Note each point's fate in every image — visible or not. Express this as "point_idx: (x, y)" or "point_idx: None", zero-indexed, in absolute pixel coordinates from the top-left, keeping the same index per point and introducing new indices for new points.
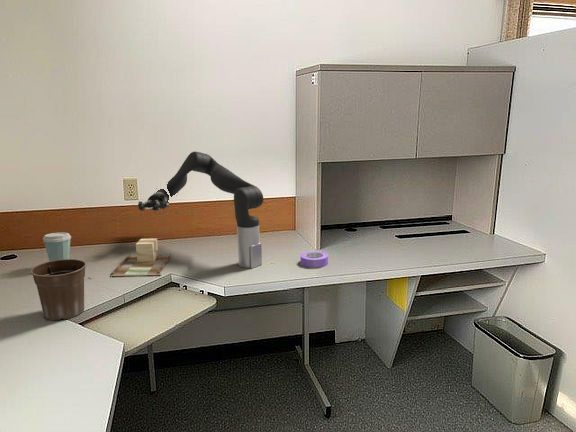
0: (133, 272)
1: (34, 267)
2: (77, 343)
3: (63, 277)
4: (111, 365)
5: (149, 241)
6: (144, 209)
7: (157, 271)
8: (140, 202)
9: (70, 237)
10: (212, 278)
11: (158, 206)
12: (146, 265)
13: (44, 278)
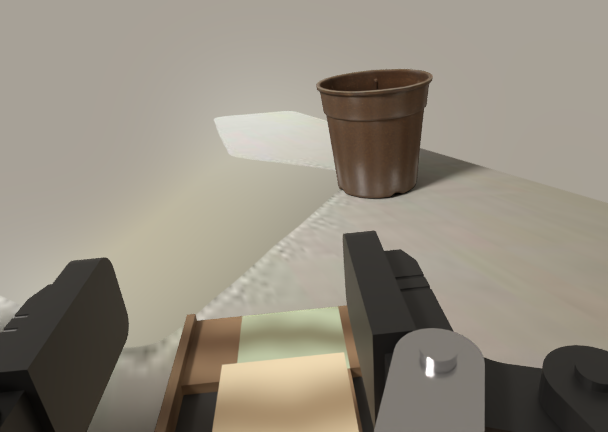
0: (306, 322)
1: (427, 73)
2: (292, 151)
3: (339, 83)
4: (228, 140)
5: (256, 409)
6: (369, 406)
7: (200, 336)
8: None
9: None
10: None
11: (10, 336)
12: None
13: (371, 77)
